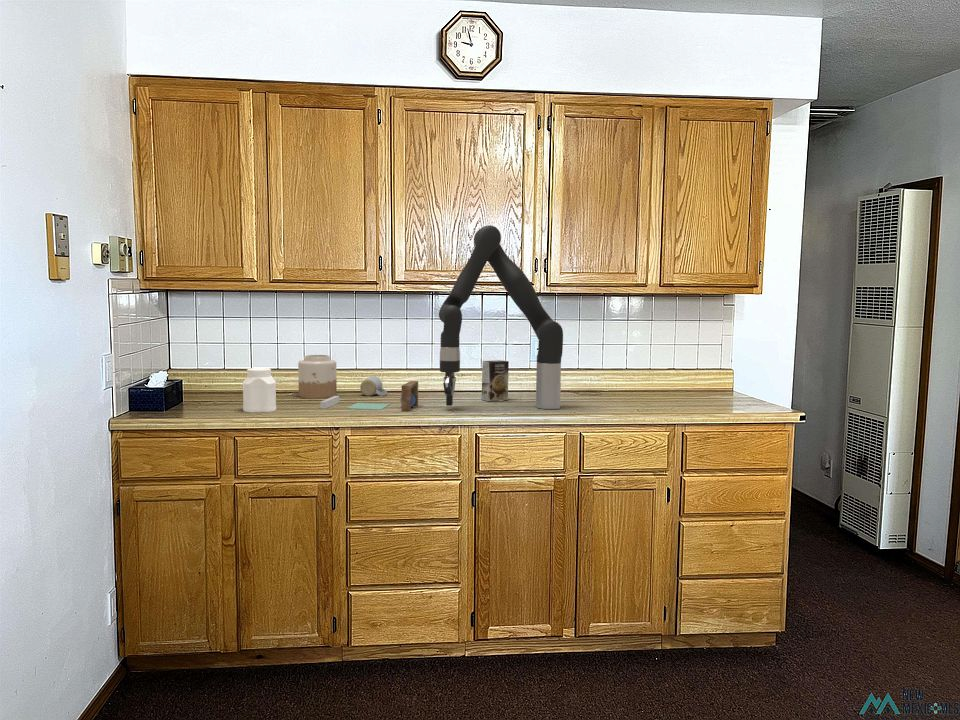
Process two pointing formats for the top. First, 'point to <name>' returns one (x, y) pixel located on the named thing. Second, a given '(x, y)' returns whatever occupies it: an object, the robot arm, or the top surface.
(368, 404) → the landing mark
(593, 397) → the top surface
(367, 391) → the ceramic mug
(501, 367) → the coffee box
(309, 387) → the vase
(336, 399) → the wall
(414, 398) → the ball
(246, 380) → the jar
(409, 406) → the bridge
